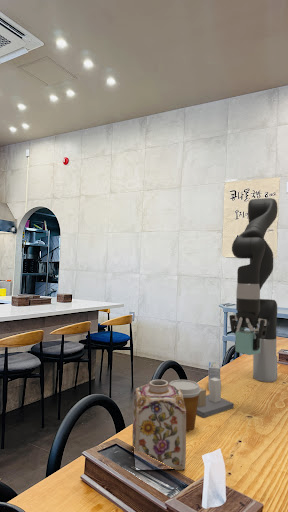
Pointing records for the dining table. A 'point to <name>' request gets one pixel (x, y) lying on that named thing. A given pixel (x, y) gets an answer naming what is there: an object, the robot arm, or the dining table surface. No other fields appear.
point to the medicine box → (213, 371)
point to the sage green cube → (245, 343)
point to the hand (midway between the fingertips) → (247, 348)
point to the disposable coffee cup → (189, 399)
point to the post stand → (212, 400)
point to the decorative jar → (160, 423)
